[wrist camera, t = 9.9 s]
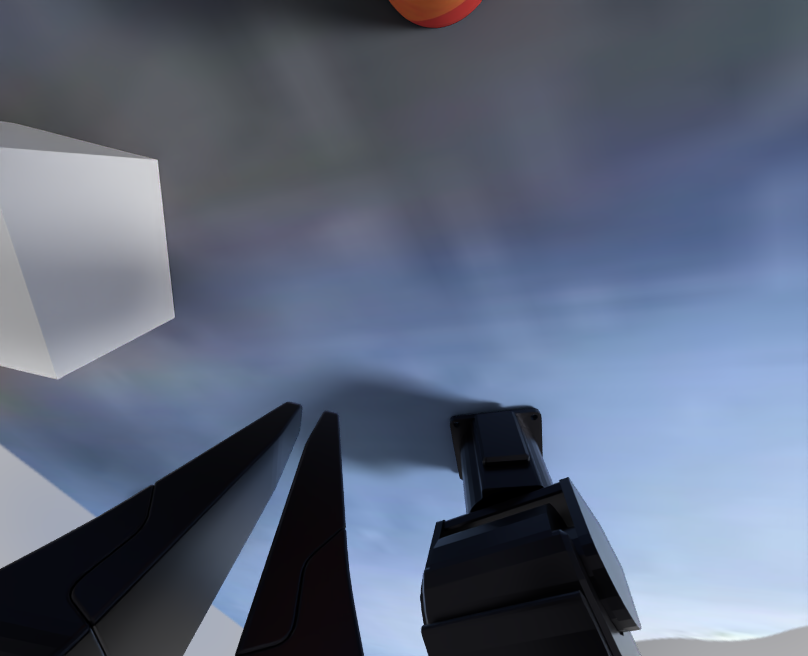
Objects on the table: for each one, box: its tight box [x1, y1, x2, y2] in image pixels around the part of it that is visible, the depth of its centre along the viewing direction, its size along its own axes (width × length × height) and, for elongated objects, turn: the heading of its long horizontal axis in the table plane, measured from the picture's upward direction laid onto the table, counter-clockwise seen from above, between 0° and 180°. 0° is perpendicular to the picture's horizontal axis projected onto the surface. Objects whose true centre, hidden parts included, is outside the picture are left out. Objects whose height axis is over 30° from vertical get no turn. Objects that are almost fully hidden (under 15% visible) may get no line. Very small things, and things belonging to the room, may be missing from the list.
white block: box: [0, 121, 175, 379], centre depth 16 cm, size 9×10×8 cm
